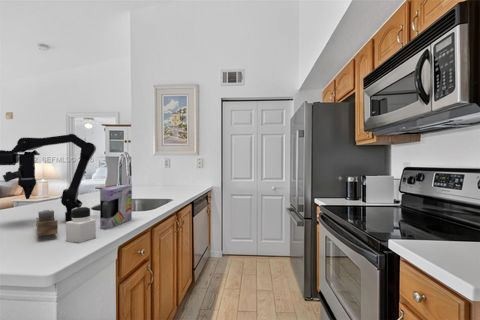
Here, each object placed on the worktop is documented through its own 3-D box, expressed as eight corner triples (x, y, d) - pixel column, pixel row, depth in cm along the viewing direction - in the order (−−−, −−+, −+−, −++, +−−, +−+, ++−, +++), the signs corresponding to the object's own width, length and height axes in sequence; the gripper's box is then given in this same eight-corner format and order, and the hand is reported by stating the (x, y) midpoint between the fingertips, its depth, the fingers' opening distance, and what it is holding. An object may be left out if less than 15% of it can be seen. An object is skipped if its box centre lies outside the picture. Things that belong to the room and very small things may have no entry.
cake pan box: (108, 230, 117) (107, 188, 117) (97, 229, 118) (97, 188, 118) (132, 219, 136) (132, 184, 136) (123, 219, 137) (123, 184, 137)
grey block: (53, 222, 114) (53, 208, 114) (54, 224, 111) (54, 210, 111) (38, 224, 111) (38, 210, 111) (38, 226, 108) (38, 211, 108)
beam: (53, 227, 122) (53, 211, 122) (57, 239, 104) (57, 220, 104) (36, 229, 118) (36, 213, 118) (38, 242, 100) (37, 223, 100)
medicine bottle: (96, 237, 106) (96, 206, 106) (80, 243, 99) (79, 210, 99) (82, 236, 108) (82, 205, 108) (65, 241, 101) (65, 209, 101)
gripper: (5, 165, 128) (5, 198, 128) (2, 166, 114) (2, 203, 114) (34, 164, 135) (35, 196, 135) (35, 165, 120) (36, 200, 121)
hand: (27, 198), depth 126 cm, fingers closed
